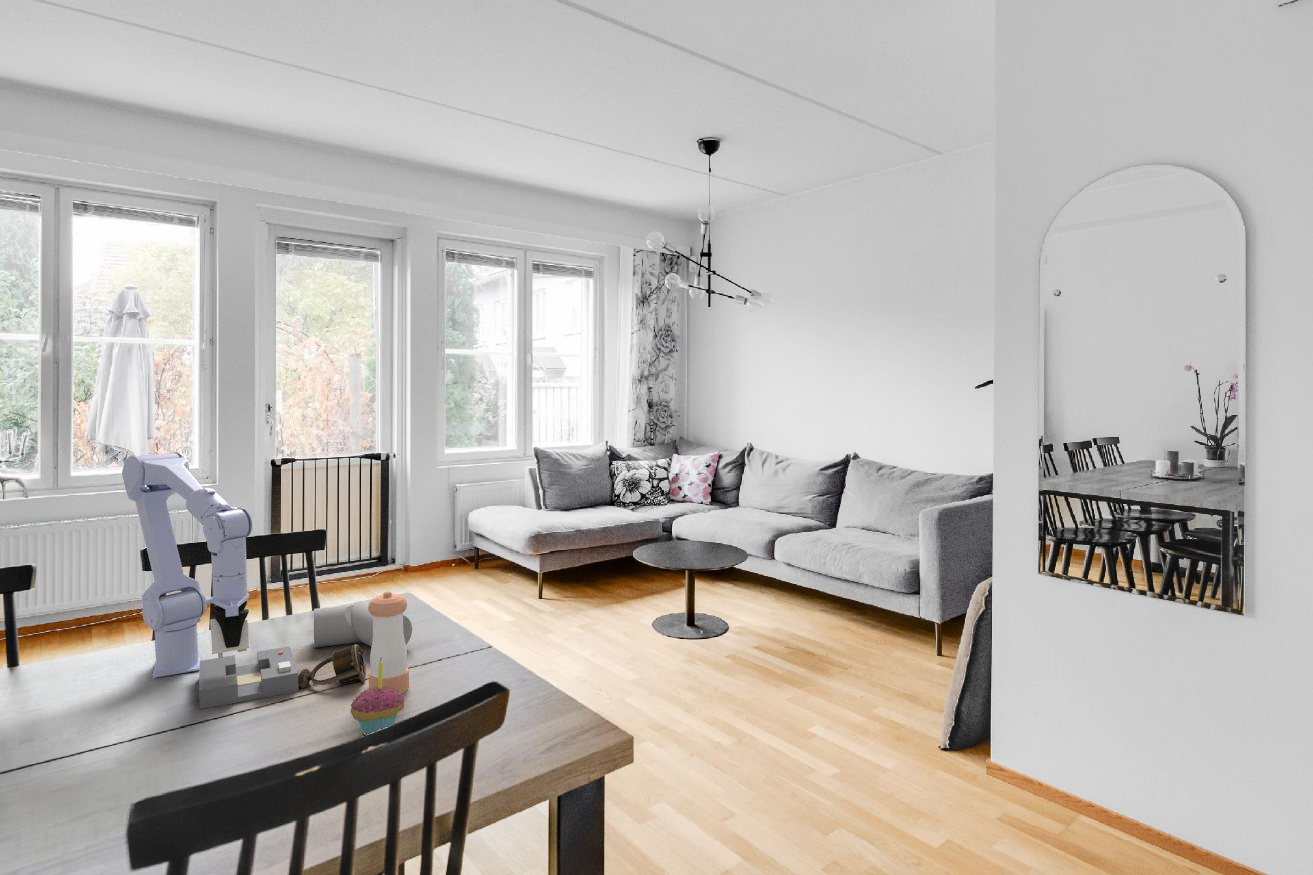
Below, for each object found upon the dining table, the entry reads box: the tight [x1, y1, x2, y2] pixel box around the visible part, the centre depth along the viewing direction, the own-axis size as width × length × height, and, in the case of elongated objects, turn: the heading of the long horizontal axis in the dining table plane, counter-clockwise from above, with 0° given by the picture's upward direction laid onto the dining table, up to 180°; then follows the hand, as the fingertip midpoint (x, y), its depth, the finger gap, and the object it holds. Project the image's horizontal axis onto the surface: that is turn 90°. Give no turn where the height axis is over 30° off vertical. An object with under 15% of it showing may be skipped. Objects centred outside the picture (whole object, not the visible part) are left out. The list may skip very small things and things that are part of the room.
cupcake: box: [350, 657, 405, 736], centre depth 125 cm, size 9×8×12 cm
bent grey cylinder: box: [313, 600, 413, 648], centre depth 164 cm, size 18×11×20 cm
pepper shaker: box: [368, 590, 410, 694], centre depth 140 cm, size 7×7×19 cm
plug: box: [209, 616, 250, 658], centre depth 140 cm, size 4×6×6 cm, turn 122°
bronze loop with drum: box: [298, 643, 367, 689], centre depth 144 cm, size 7×13×10 cm
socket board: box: [198, 645, 299, 710], centre depth 143 cm, size 16×16×4 cm
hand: (232, 642), depth 141 cm, fingers closed on plug, 4 cm apart
